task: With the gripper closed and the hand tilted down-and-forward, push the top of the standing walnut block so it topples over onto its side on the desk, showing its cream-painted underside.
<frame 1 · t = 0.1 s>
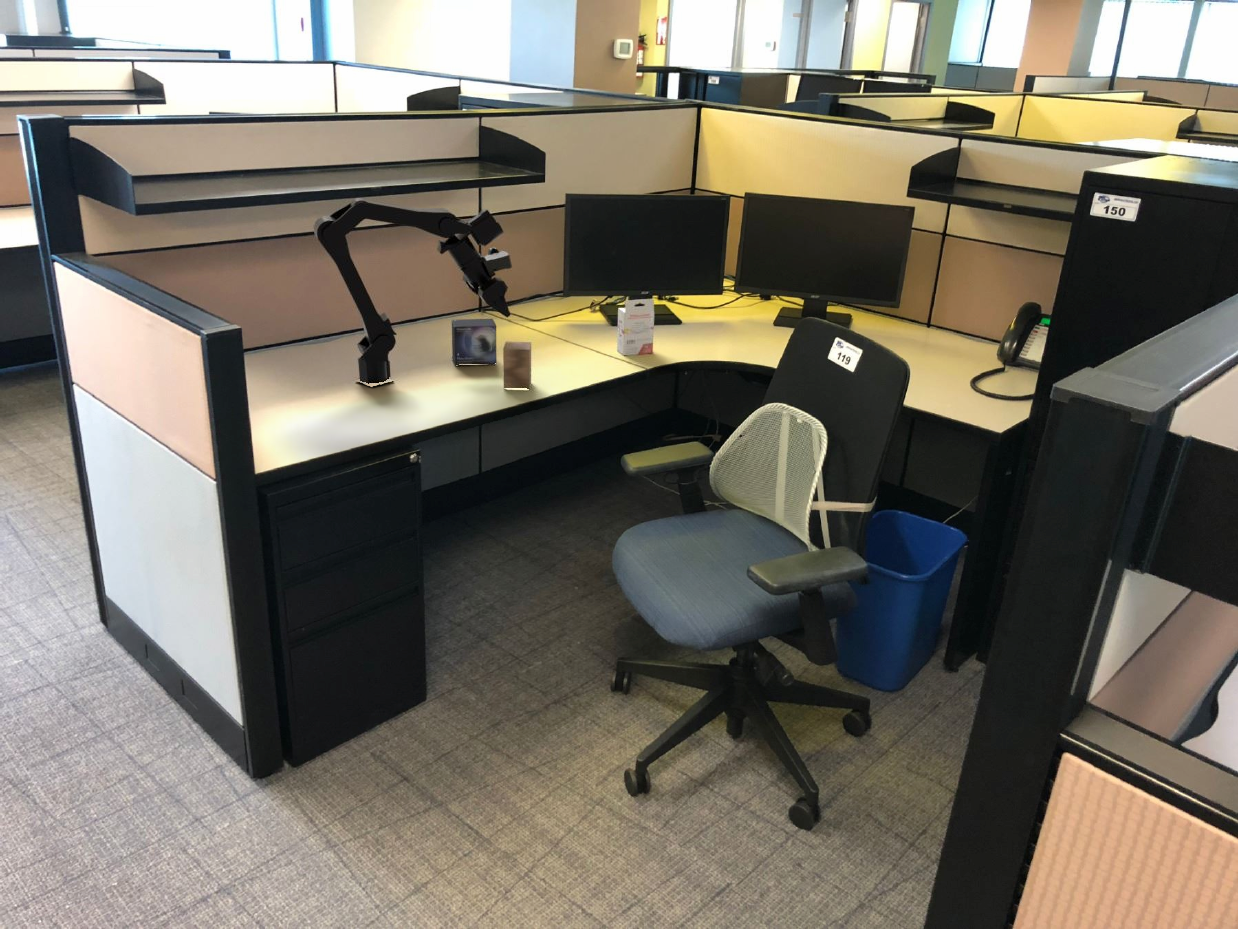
hand: (503, 311, 231), 15 cm above the table, tool tilted 35°, fingers open, 9 cm apart
small box: (474, 363, 242), on the table
ink cartridge box: (634, 352, 255), on the table
walnut block: (517, 386, 226), on the table
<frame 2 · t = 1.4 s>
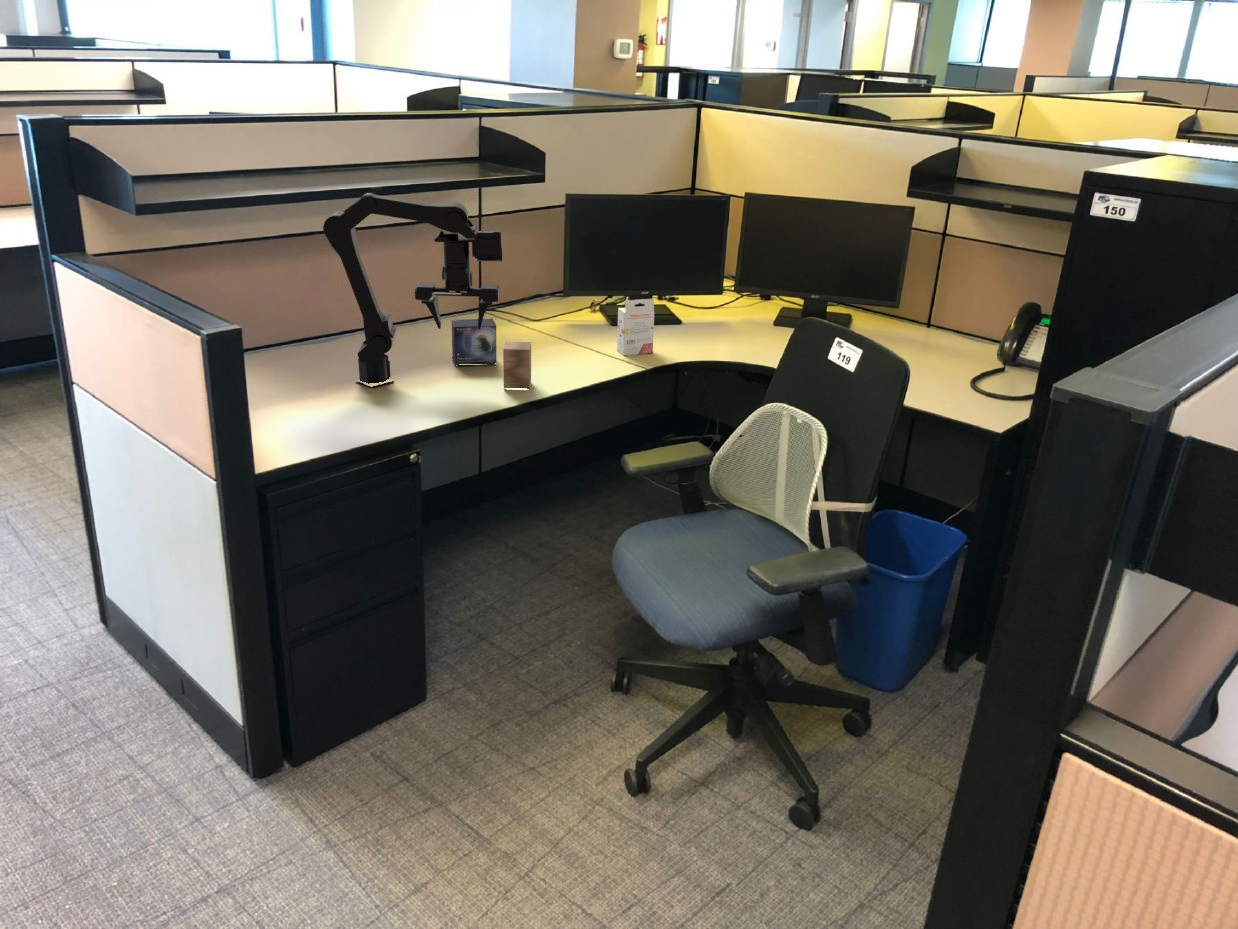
hand: (459, 328, 222), 13 cm above the table, tool pointing down, fingers open, 9 cm apart
nothing on the table moved.
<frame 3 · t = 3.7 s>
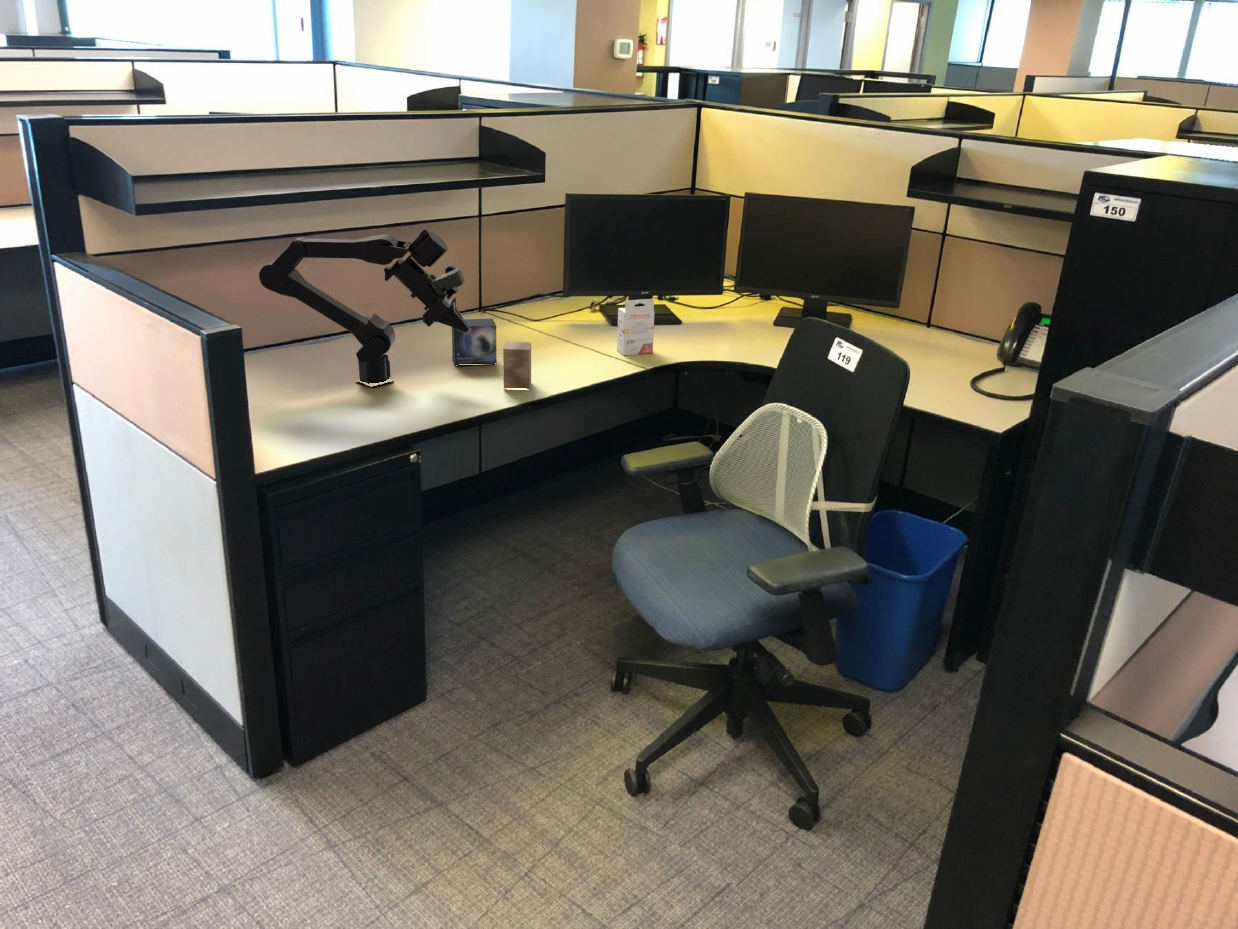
hand: (467, 330, 221), 13 cm above the table, tool tilted 45°, fingers closed
nothing on the table moved.
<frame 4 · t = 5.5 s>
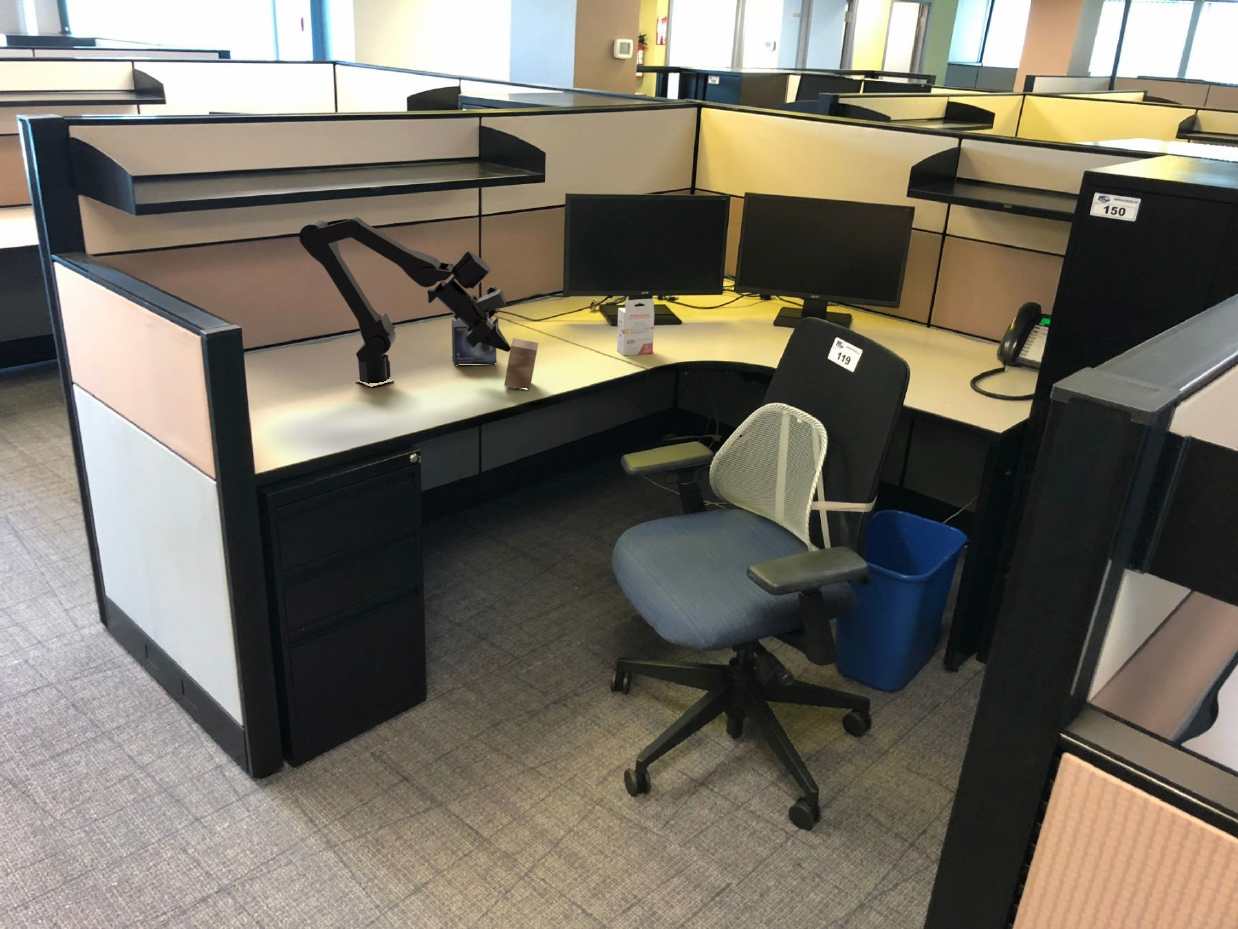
hand: (509, 350, 223), 9 cm above the table, tool tilted 45°, fingers closed
walnut block: (517, 384, 226), on the table, tilted 10°
everything else where it was.
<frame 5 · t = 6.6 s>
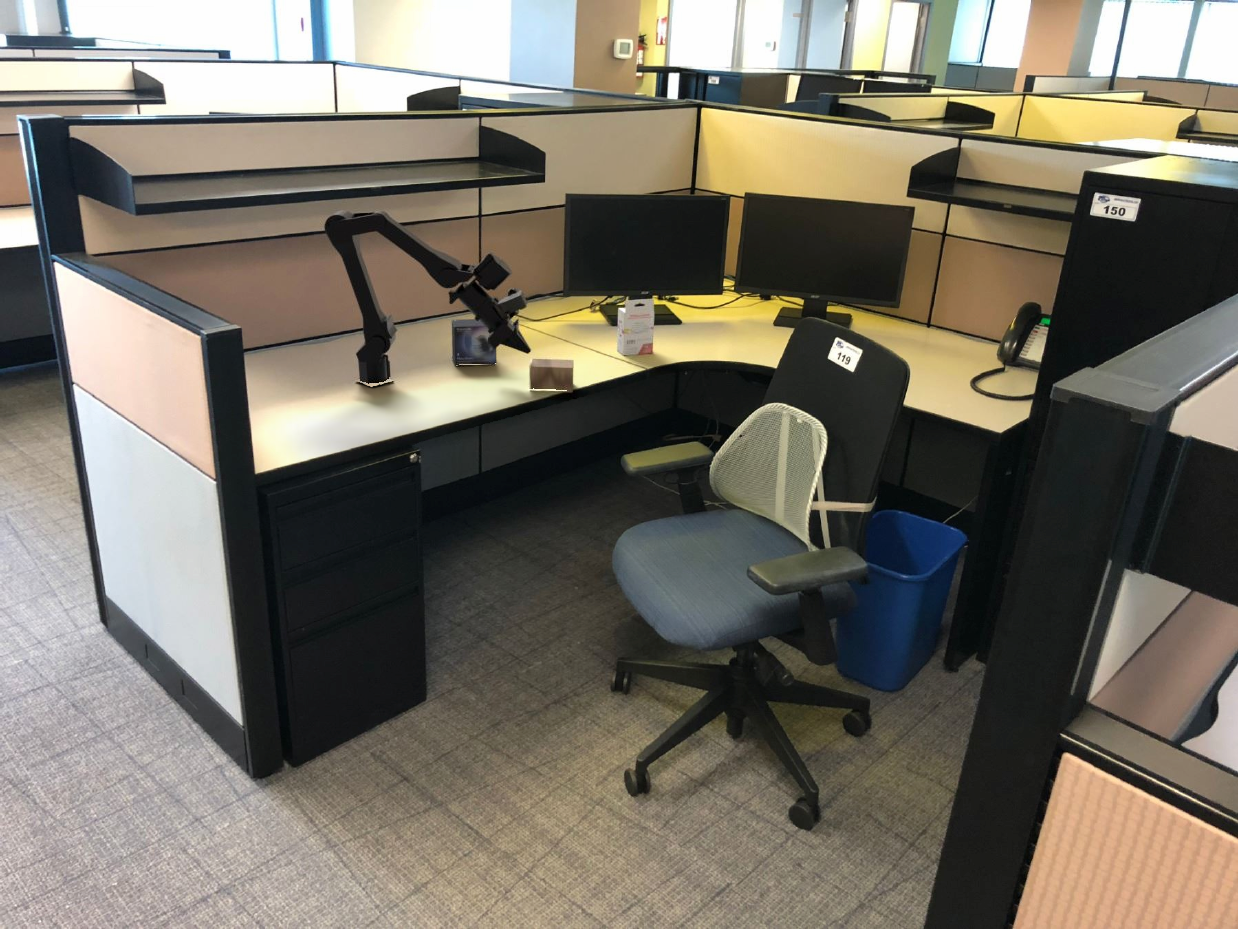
hand: (529, 352, 223), 8 cm above the table, tool tilted 45°, fingers closed
walnut block: (530, 374, 225), point 3 cm above the table, tilted 90°
everything else where it was.
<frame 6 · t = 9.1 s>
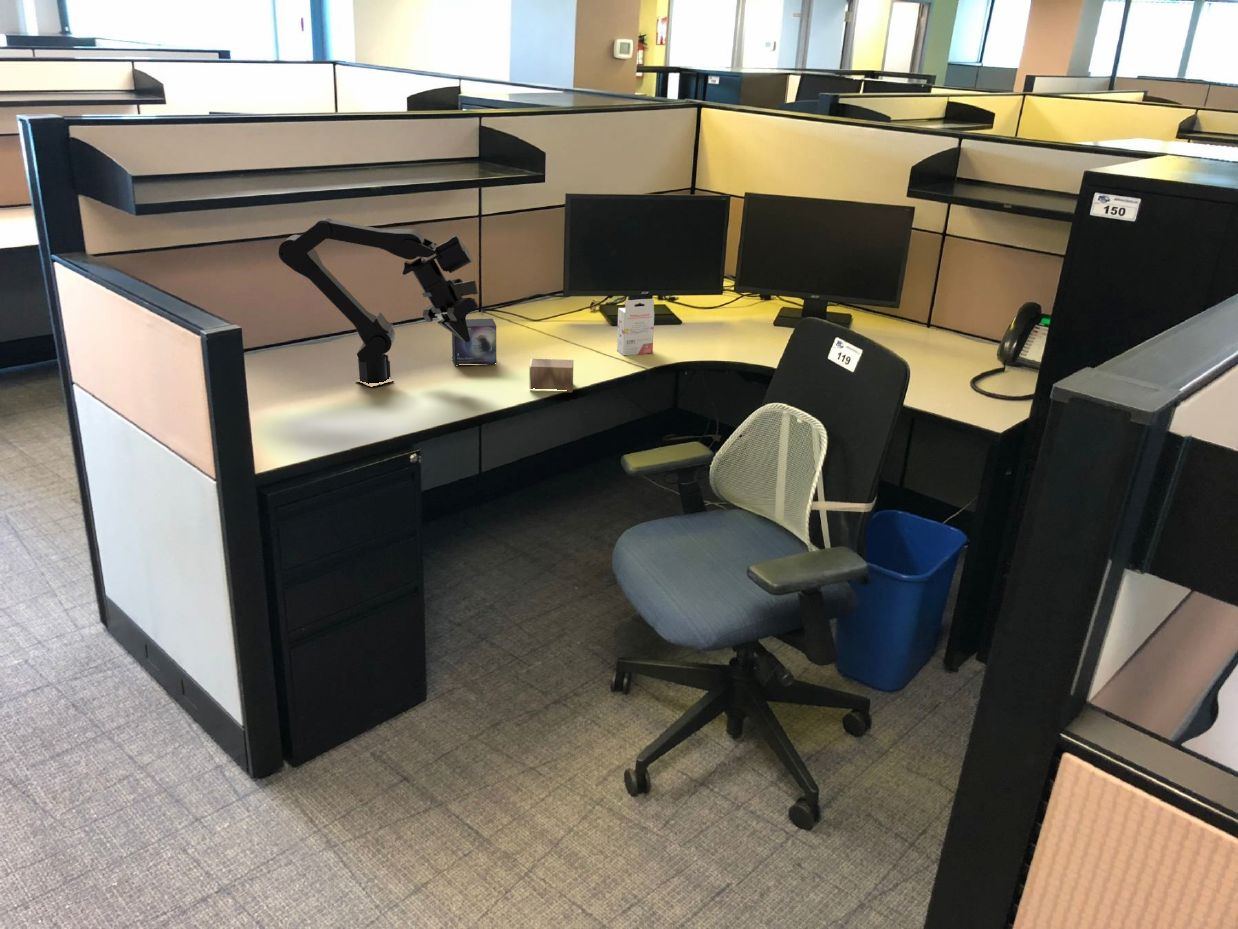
hand: (468, 341, 223), 10 cm above the table, tool tilted 30°, fingers closed
nothing on the table moved.
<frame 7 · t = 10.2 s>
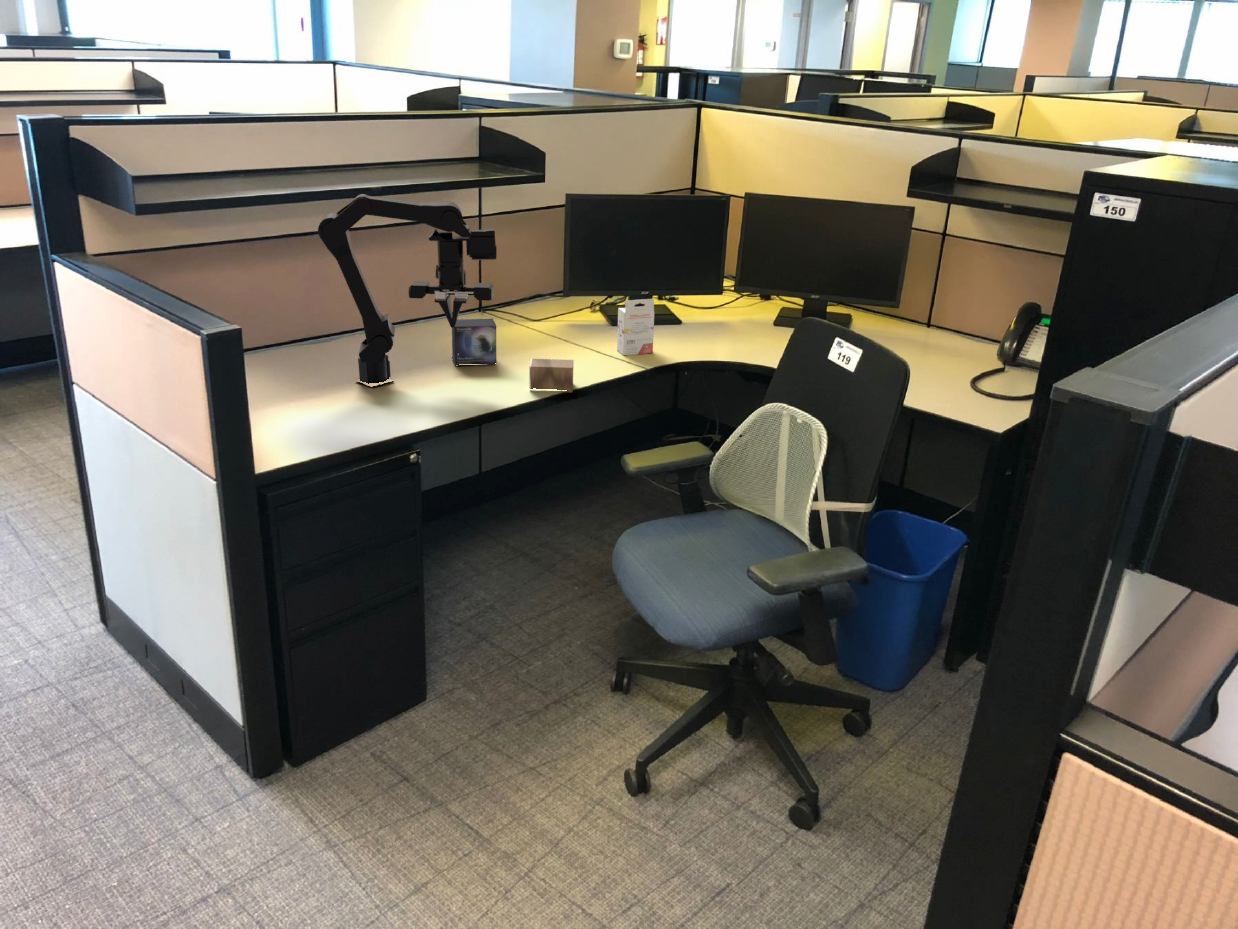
hand: (452, 327, 223), 13 cm above the table, tool pointing down, fingers closed
nothing on the table moved.
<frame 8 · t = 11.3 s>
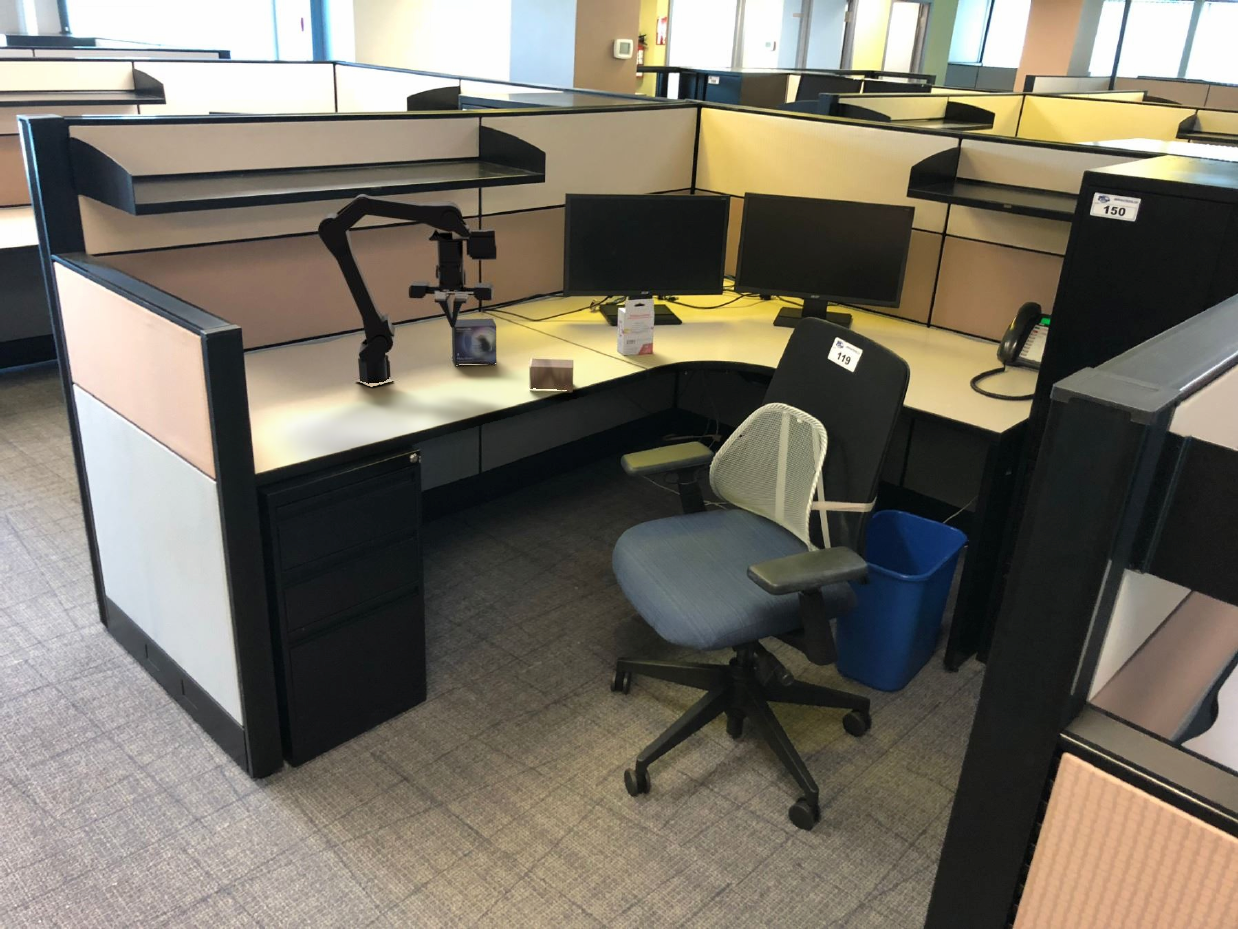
hand: (452, 327, 223), 13 cm above the table, tool pointing down, fingers closed
nothing on the table moved.
at the end: walnut block tilted 90°; walnut block inside the target area (2.4 cm from its centre), point 2.9 cm above the table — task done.
